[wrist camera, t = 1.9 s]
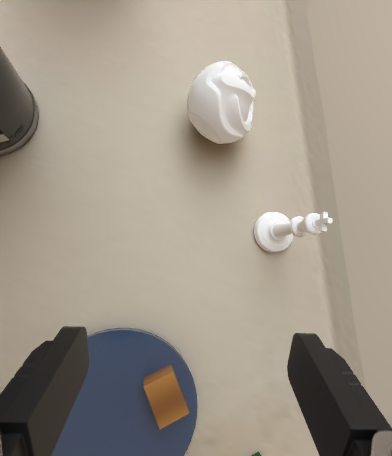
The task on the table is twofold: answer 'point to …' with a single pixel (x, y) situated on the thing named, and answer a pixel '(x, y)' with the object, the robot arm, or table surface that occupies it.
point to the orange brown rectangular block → (165, 396)
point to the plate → (126, 400)
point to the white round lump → (221, 102)
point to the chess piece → (287, 229)
